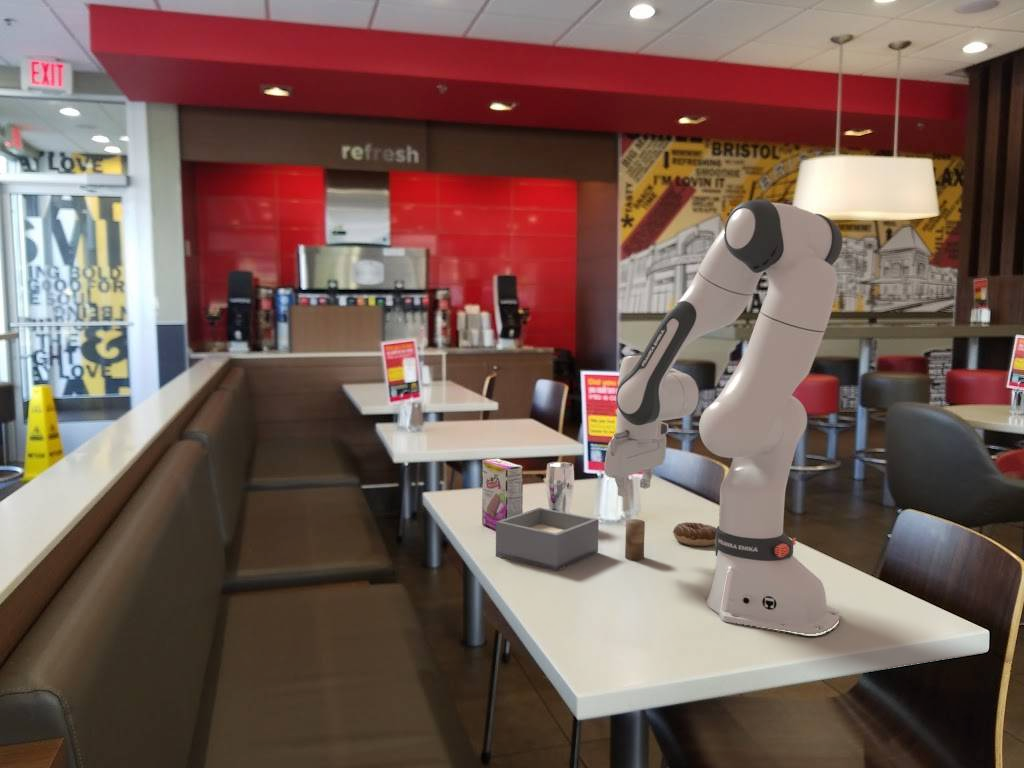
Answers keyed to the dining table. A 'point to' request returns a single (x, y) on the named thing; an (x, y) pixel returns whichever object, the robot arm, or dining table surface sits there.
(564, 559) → the open-top box
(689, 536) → the donut
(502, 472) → the candy bar box
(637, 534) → the peg
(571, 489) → the beer glass
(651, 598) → the dining table surface
